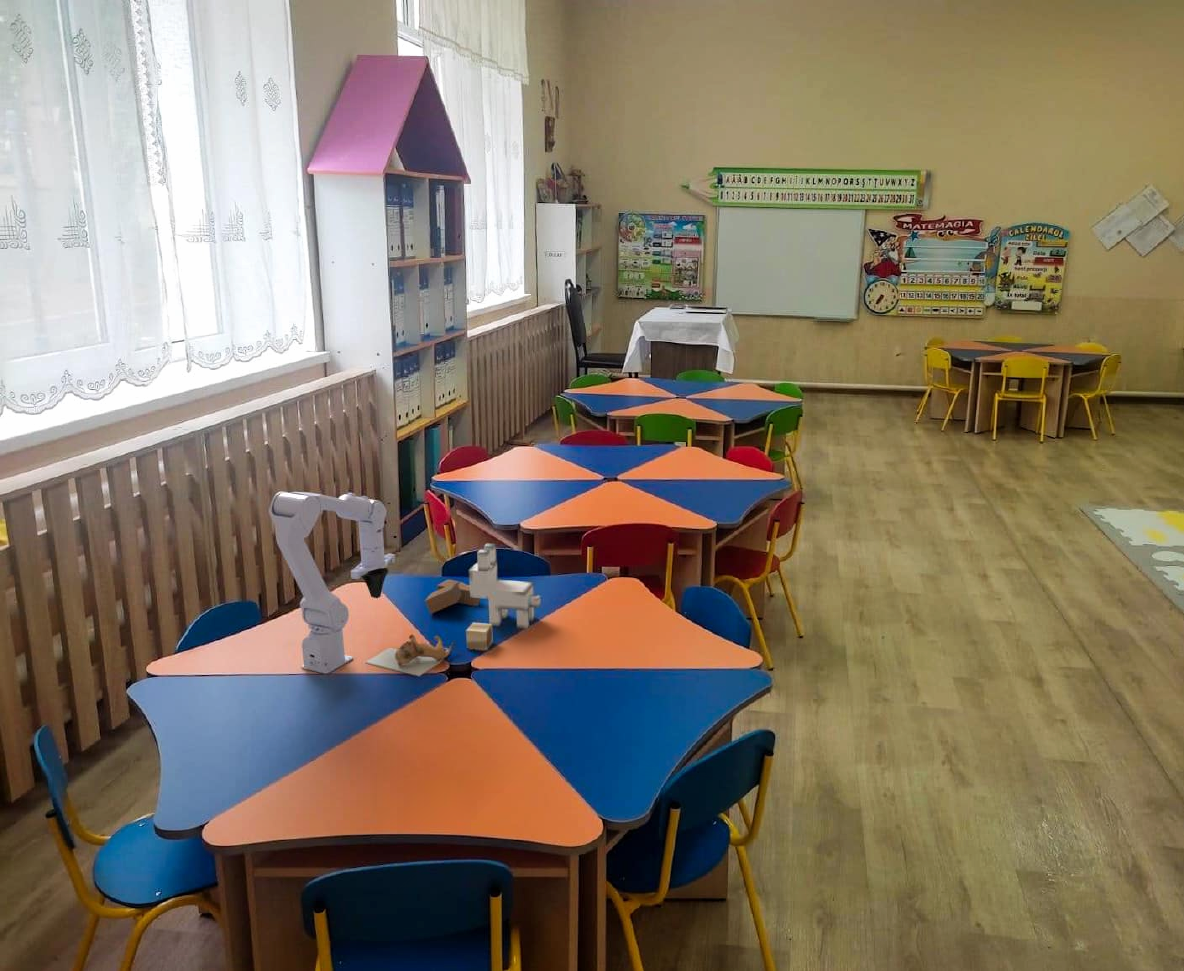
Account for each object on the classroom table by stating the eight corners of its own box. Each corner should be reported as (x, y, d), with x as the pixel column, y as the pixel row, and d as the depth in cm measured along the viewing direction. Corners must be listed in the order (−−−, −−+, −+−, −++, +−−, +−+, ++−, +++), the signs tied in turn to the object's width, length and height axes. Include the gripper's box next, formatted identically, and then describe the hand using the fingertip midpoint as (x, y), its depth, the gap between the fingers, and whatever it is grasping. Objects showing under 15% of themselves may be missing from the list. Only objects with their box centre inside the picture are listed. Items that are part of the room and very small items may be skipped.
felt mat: (419, 676, 225) (419, 675, 225) (365, 663, 232) (365, 662, 232) (442, 661, 233) (442, 660, 233) (389, 648, 240) (389, 647, 240)
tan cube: (486, 650, 238) (486, 632, 237) (467, 649, 239) (466, 630, 238) (493, 642, 243) (492, 624, 242) (473, 641, 244) (472, 622, 243)
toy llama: (535, 629, 250) (533, 556, 245) (471, 624, 254) (467, 551, 249) (543, 618, 257) (541, 546, 252) (481, 613, 261) (478, 542, 256)
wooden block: (486, 605, 275) (465, 621, 257) (443, 596, 277) (418, 611, 260) (490, 580, 274) (468, 594, 256) (446, 571, 276) (421, 584, 259)
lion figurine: (394, 654, 236) (394, 671, 227) (394, 634, 234) (394, 650, 226) (456, 651, 238) (458, 668, 230) (456, 631, 237) (458, 647, 228)
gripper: (365, 556, 234) (369, 609, 238) (403, 539, 246) (406, 589, 250) (342, 552, 237) (347, 604, 241) (381, 536, 250) (384, 585, 253)
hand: (375, 596), depth 246 cm, fingers closed
